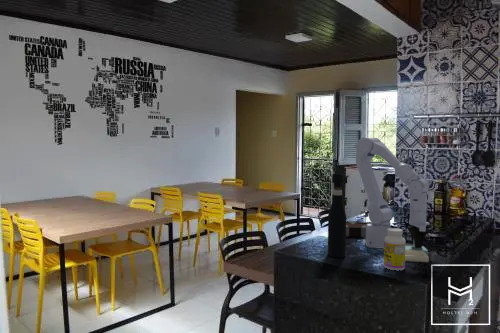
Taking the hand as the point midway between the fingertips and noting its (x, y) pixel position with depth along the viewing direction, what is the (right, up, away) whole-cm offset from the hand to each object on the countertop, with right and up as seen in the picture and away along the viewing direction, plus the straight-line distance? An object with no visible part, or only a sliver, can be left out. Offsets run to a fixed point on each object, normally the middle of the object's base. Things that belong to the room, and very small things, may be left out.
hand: (417, 246), depth 147 cm
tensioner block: (-1, -2, 0) cm, 3 cm away
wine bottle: (-31, -3, -4) cm, 31 cm away
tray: (-4, -3, -7) cm, 9 cm away
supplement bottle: (-15, -4, -18) cm, 24 cm away
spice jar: (0, -2, 0) cm, 2 cm away
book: (-12, -1, +32) cm, 34 cm away
